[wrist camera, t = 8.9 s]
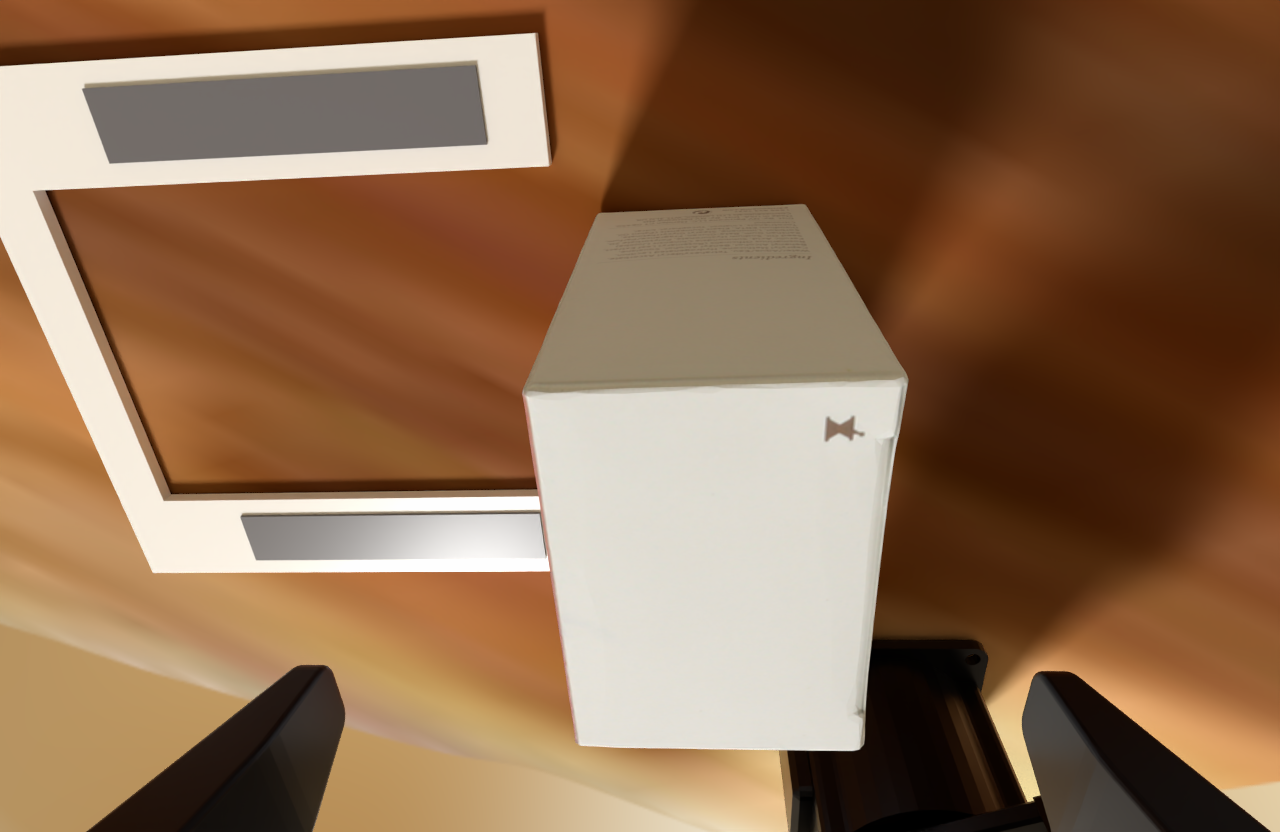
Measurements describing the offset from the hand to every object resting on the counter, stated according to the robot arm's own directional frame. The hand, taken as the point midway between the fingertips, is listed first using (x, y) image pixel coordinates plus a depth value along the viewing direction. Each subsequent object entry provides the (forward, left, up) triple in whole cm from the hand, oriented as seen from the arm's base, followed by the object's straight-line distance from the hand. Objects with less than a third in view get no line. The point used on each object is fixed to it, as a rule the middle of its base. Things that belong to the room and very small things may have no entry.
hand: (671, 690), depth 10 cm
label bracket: (+10, +1, -13) cm, 17 cm away
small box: (-1, +1, -13) cm, 13 cm away
